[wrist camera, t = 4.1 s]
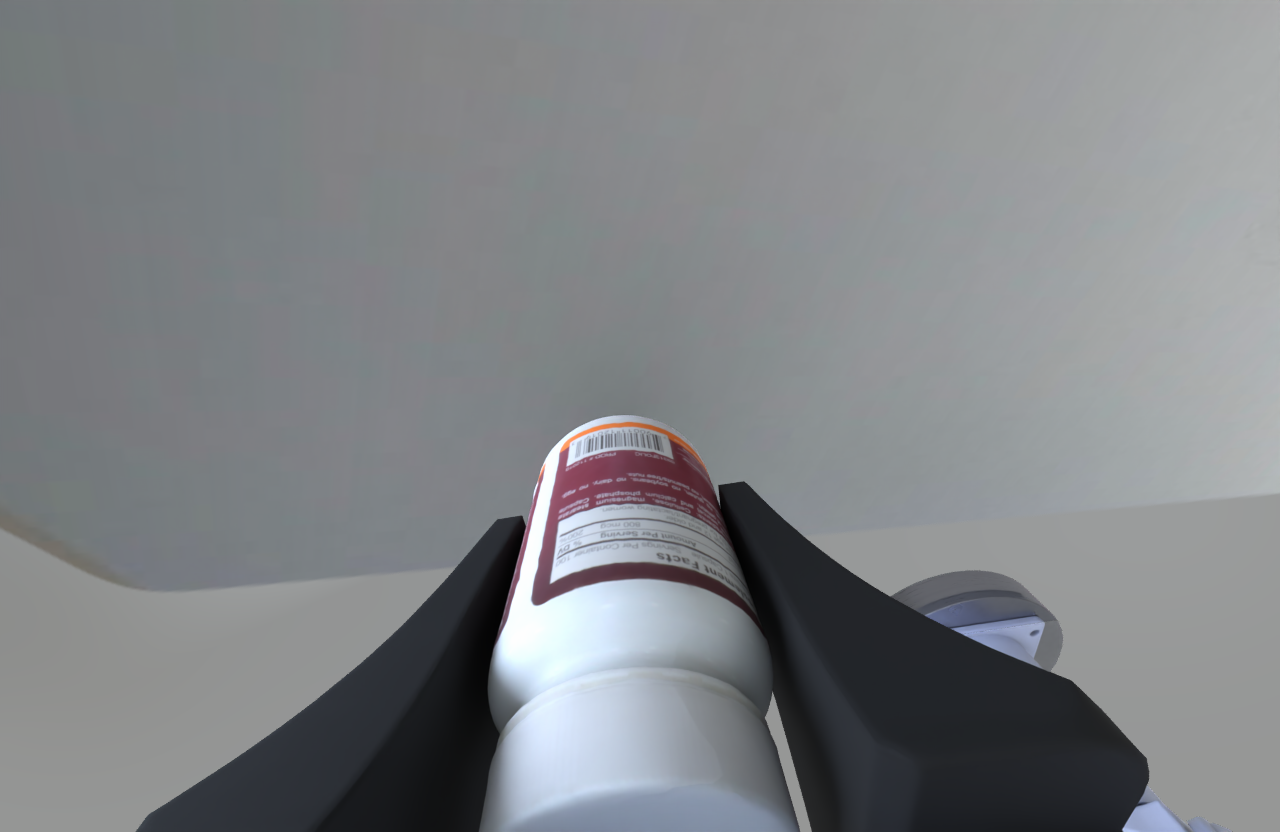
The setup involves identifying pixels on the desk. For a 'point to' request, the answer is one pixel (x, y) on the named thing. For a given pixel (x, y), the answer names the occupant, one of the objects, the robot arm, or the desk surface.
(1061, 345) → the desk surface
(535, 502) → the pill bottle
